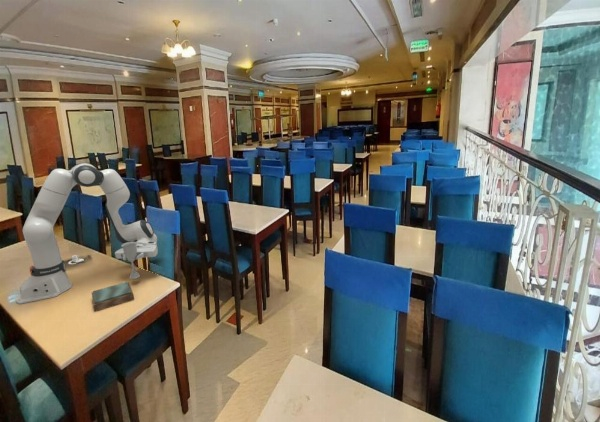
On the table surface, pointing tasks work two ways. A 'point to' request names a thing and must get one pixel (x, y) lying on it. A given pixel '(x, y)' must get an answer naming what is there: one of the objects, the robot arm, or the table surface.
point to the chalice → (131, 256)
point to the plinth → (112, 296)
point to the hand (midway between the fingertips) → (130, 258)
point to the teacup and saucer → (75, 259)
